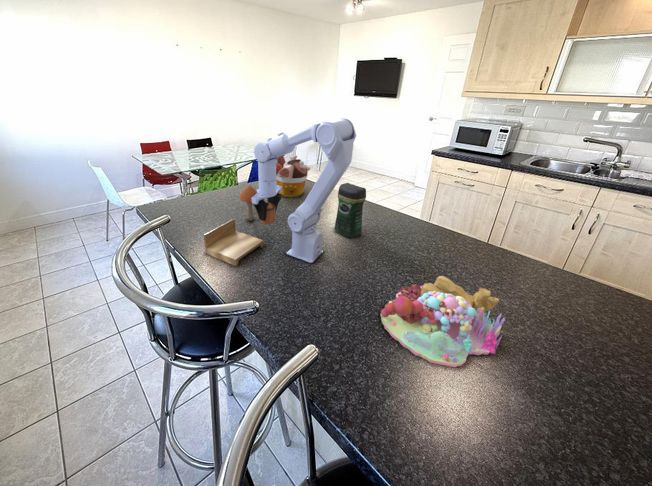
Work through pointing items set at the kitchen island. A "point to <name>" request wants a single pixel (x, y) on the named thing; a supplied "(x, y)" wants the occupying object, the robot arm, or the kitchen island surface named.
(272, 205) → the pot
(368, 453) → the kitchen island surface
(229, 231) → the shelf
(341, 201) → the coffee jar
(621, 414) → the kitchen island surface
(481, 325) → the candy landscape model
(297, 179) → the bucket of meat
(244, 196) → the mushroom
